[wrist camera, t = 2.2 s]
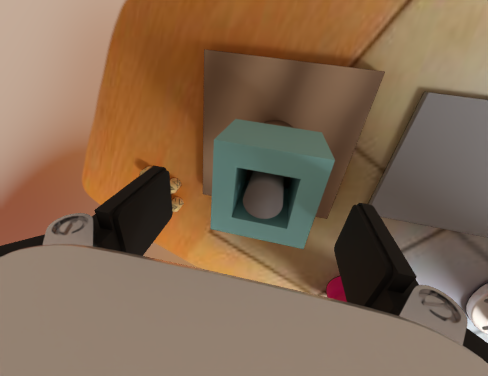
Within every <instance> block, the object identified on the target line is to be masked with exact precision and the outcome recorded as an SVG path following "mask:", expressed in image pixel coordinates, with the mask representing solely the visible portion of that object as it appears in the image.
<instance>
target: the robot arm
mask: <svg viewBox="0 0 488 376" xmlns="http://www.w3.org/2000/svg"><path fill="white" fill-rule="evenodd" d="M95 213H96V214H95V215H94V216H92V217H91V216H90V215H88V214H84V213H76V214H70V215H66V216H64V217H61V218H59V219H57V220H55V221H54V222H53V223H51V224H50V225H49V226H48V228H47V230H46V233H45V235H41V236H37V237H33V238H29V239H25V240H22V241H18V242H14V243H10V244H6V245H2V246H0V376H488V343H487V342H485V341H484V340H483V339H481V338H480V337H478V336H477V335H476V334H474V333H473V332H471V331H470V330H469V329H467V317H466V315H465V313H464V311H463V310H462V309H461V308H460V306H459V305H458V304H457V303H456V302H455V301H454V300H453V299H452V298H450V297H449V296H447V295H446V294H445V293H443V292H441V291H439V290H438V289H436V288H433V287H430V286H426V285H419V284H418V282H417V281H416V275H415V273H414V272H413V270H412V268H411V267H410V265H409V264H408V262H407V260H406V259H405V257H404V255H403V254H402V252H401V250H400V249H399V247H398V245H397V244H396V242H395V241H394V239H393V237H392V236H391V234H390V232H389V231H388V229H387V227H386V226H385V224H384V222H383V221H382V219H381V218H380V216H379V214H378V213H377V211H376V209H375V208H374V206H373V205H368V204H363V203H358V204H357V205H354V206H353V207H352V209H351V211H350V214H349V216H348V218H347V220H346V222H345V224H344V227H343V229H342V231H341V233H340V235H339V237H338V240H337V242H336V244H335V247H334V252H335V256H336V260H337V264H338V268H339V272H340V276H341V280H342V284H343V288H344V292H345V296H346V300H347V302H344V301H340V300H336V299H332V298H327V297H323V296H319V295H314V294H310V293H306V292H301V291H297V290H293V289H288V288H284V287H280V286H275V285H271V284H267V283H262V282H258V281H253V280H249V279H244V278H240V277H236V276H231V275H227V274H222V273H218V272H213V271H209V270H204V269H200V268H195V267H191V266H186V265H182V264H177V263H172V262H167V261H163V260H159V259H154V258H149V257H145V256H143V255H144V253H145V252H146V251H147V249H148V248H149V247H150V245H151V244H152V243H153V241H154V240H155V239H156V237H157V236H158V235H159V233H160V232H161V231H162V229H163V228H164V227H165V225H166V224H167V223H168V222H169V220H170V219H171V217H172V213H173V211H172V199H171V188H170V176H169V172H168V171H166V168H164V167H158V166H152V167H151V168H149V169H148V170H147V171H146V172H144V173H143V174H142V175H140V176H139V177H138V178H136V179H135V180H134V181H132V182H131V183H130V184H128V185H127V186H126V187H124V188H123V189H122V190H120V191H119V192H118V193H116V194H115V195H114V196H113V197H111V198H110V199H109V200H107V201H106V202H105V203H103V204H102V205H101V206H99V207H98V208H97V209H95ZM466 311H467V314H468V317H469V318H470V319H471V321H472V322H473V324H474V325H475V326H476V327H477V328H478V329H479V330H481V331H482V332H484V333H486V334H488V283H487V284H485V285H484V286H482V287H480V288H479V289H478V290H477V291H476V292H474V294H473V295H472V296H471V297H470V299H469V301H468V303H467V306H466Z"/></svg>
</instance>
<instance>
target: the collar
mask: <svg viewBox="0 0 488 376" xmlns="http://www.w3.org/2000/svg"><path fill="white" fill-rule="evenodd" d="M334 162H335V159H334V157H333V155H332V153H331V150H330V148H329V146H328V144H327V142H326V140H325V138H324V136H323V134H322V132H316V131H310V130H303V129H297V128H291V127H284V126H278V125H272V124H265V123H259V122H252V121H246V120H240V119H235V120H234V121H233V122H232V123H231V124H230V125H229V126H228V127H227V128H226V129H224V130H223V131H222V132H221V133H220V134H219V135H218V136H217V137H216V138H215V139H214V150H213V177H212V205H211V229H213V230H217V231H222V232H227V233H231V234H236V235H240V236H245V237H250V238H254V239H259V240H263V241H268V242H273V243H277V244H282V245H287V246H291V247H296V248H300V249H304V246H305V244H306V241H307V238H308V235H309V232H310V229H311V227H312V224H313V221H314V218H315V215H316V213H317V210H318V207H319V204H320V201H321V198H322V196H323V193H324V190H325V187H326V184H327V182H328V179H329V176H330V173H331V170H332V168H333V165H334ZM247 170H254V171H259V172H265V173H270V174H276V175H281V176H287V177H291V178H290V182H289V186H288V188H285V187H284V193H283V207H282V209H281V211H280V213H279V214H278V215H276V216H275V217H272V218H269V219H260V218H257V217H254V216H252V215H251V214H249V213H248V212H247V210H246V209H245V207H244V204H243V197H244V194H245V192H246V189H247V186H248V183H249V181H248V180H246V177H247Z"/></svg>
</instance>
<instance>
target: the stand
mask: <svg viewBox="0 0 488 376" xmlns="http://www.w3.org/2000/svg"><path fill="white" fill-rule="evenodd" d="M384 73H385V72H384V71H376V70H367V69H359V68H351V67H343V66H335V65H327V64H319V63H310V62H302V61H294V60H286V59H278V58H270V57H262V56H254V55H245V54H237V53H229V52H221V51H213V50H205V49H204V126H203V194H205V195H210V196H212V177H213V150H214V139H215V138H216V137H217V136H218V135H219V134H220V133H221V132H222V131H223V130H224V129H226V128H227V127H228V126H229V125H230V124H231V123H232V122H233V121H234V120H235V119H240V120H246V121H252V122H259V123H265V124H272V125H278V126H284V127H291V128H297V129H303V130H310V131H316V132H322V134H323V136H324V138H325V140H326V142H327V144H328V146H329V148H330V150H331V153H332V155H333V157H334V159H335V162H334V165H333V168H332V170H331V173H330V176H329V179H328V182H327V184H326V187H325V190H324V193H323V196H322V198H321V201H320V204H319V207H318V210H317V213H316V215H315V217H320V218H325V219H327V218H328V215H329V212H330V210H331V207H332V205H333V202H334V200H335V197H336V195H337V192H338V190H339V187H340V185H341V182H342V180H343V177H344V174H345V172H346V169H347V167H348V164H349V162H350V159H351V157H352V154H353V152H354V149H355V147H356V144H357V142H358V139H359V136H360V134H361V131H362V129H363V126H364V124H365V121H366V119H367V116H368V114H369V111H370V109H371V106H372V103H373V101H374V98H375V96H376V93H377V91H378V88H379V86H380V83H381V81H382V78H383V76H384ZM290 178H291V177H287V176H281V175H276V174H270V173H265V172H259V171H254V170H247V177H246V180H248V181H249V183H248V186H247V189H246V192H245V194H244V197H243V204H244V207H245V209H246V210H247V212H248V213H249V214H251V215H252V216H254V217H257V218H260V219H269V218H272V217H275V216H276V215H278V214H279V213H280V211H281V209H282V207H283V193H284V187H285V188H288V186H289V182H290Z"/></svg>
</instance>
